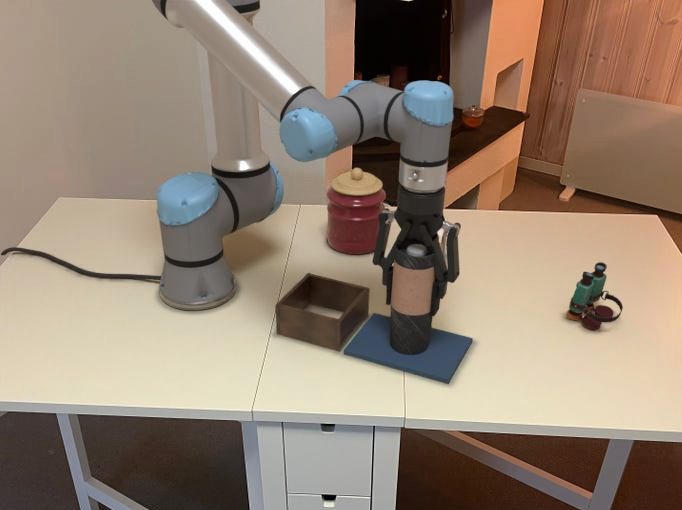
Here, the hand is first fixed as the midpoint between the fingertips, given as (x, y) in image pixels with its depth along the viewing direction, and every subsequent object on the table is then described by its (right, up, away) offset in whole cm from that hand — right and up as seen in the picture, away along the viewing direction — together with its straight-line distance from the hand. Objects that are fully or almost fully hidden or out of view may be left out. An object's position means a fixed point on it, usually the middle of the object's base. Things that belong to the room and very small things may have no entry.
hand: (412, 306), depth 134 cm
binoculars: (+37, -2, +14) cm, 39 cm away
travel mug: (0, -7, +5) cm, 8 cm away
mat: (0, -7, +5) cm, 9 cm away
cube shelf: (-16, -3, +11) cm, 20 cm away
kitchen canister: (-9, +17, +39) cm, 44 cm away
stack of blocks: (+5, +8, +27) cm, 28 cm away
